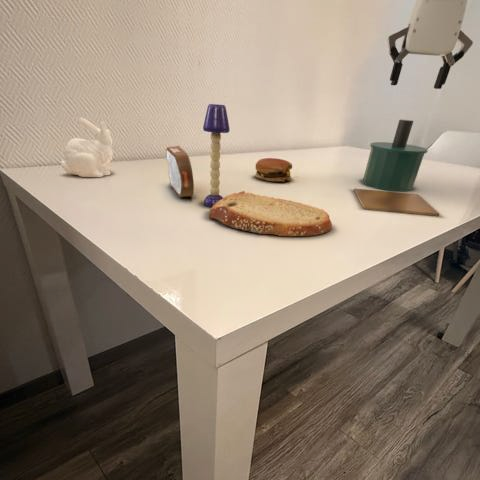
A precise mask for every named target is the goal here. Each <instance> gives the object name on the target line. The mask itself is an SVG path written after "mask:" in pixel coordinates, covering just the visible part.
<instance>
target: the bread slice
mask: <svg viewBox="0 0 480 480" xmlns="http://www.w3.org/2000/svg"><path fill="white" fill-rule="evenodd" d="M208 217H209V218H210V219H212V220H213V219H214V220H217V221H219V222H221V223H222V224H223V225H225V226H227V227H230V228H232V229H236V230H242V231H245V232H249V233H256V234H260V235H274V236H279V237H311V236H317V235H322V234H325V233H328V232H330V230H332V229H333V224H332V221H331V219H330V215H329V213H328V212H327V211H326V210H325V209H323V208H319V207H315V206H312V205H309V204H305V203H304V204H303V203H302V202H299V201H292V200H289V199H288V200H287V199H283V198H278V197H277V198H276V197H273V196H272V197H271V196H266V195H261V194H255V193H252V192H246V191H245V190H241V191H239V192H234V193H232V194H229V195H226V196H224V197H223V199H221V200H219V201H217V202H216V203H215V204H214V205H213V206H212V207H210V209H209V212H208Z"/></svg>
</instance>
